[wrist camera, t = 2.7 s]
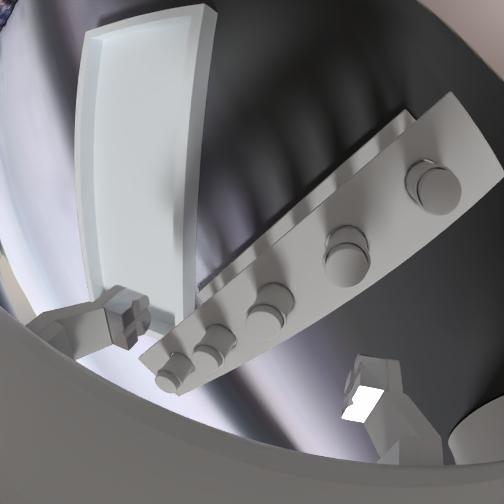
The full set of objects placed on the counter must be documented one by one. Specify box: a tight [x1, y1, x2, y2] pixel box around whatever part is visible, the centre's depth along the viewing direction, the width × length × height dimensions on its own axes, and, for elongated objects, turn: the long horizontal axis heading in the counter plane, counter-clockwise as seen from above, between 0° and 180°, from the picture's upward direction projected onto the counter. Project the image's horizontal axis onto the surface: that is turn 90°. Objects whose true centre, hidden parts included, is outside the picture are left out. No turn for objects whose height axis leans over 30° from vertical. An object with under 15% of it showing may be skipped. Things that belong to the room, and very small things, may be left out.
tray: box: [75, 4, 218, 340], centre depth 26 cm, size 14×33×2 cm, turn 174°
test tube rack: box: [138, 92, 504, 396], centre depth 18 cm, size 25×4×13 cm, turn 136°
